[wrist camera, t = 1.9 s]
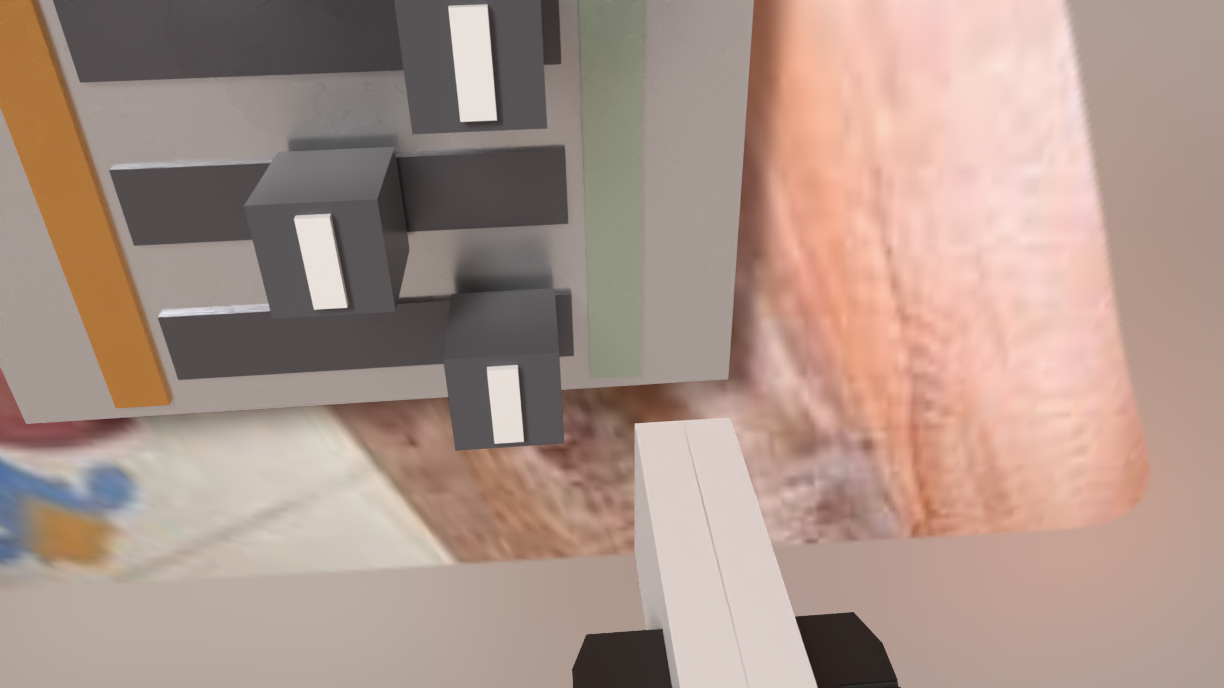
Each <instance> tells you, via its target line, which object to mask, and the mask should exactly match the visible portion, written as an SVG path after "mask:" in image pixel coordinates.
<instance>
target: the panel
mask: <svg viewBox="0 0 1224 688" xmlns="http://www.w3.org/2000/svg"><path fill="white" fill-rule="evenodd" d="M753 9H754V0H541V18H542V37H543V56H544V74H545V93H546V112H547V129H526V130H502V131H479V132H456V133H433V134H412V128H411V120H410V113H409V106H408V98H407V91H406V84H405V77H404V69H403V62H402V55H401V47H400V40H399V33H398V25H397V18H396V11H395V3H394V0H0V367H1V370H2V372H3V374H4V376H5V378H6V381H7V383H8V385H9V387H10V389H11V392H12V394H13V396H14V398H15V400H16V403H17V405H18V407H19V409H20V411H21V414H22V416H23V418H24V420H25V422H26V424H31V423H47V422H63V421H78V420H94V419H110V418H126V417H142V416H157V415H173V414H189V413H205V412H220V411H236V410H252V409H268V408H283V407H299V406H315V405H331V404H346V403H362V402H378V401H394V400H410V399H425V398H441V397H448V391H447V384H446V377H445V369H444V362H443V357H444V349H445V341H446V333H447V325H448V317H449V309H450V301H451V294H461V293H479V292H497V291H515V290H533V289H552V288H554V290H555V303H556V316H557V329H558V342H559V356H560V374H561V390H567V389H583V388H599V387H615V386H630V385H646V384H662V383H678V382H693V381H709V380H725V379H728V376H729V362H730V347H731V332H732V317H733V303H734V288H735V273H736V259H737V244H738V229H739V215H740V200H741V185H742V170H743V156H744V141H745V126H746V112H747V97H748V82H749V68H750V53H751V38H752V23H753ZM378 147H395V154H396V161H397V168H398V174H399V181H400V188H401V194H402V201H403V208H404V215H405V221H406V228H407V235H408V242H409V248H410V250H409V255H408V259H407V264H406V268H405V272H404V277H403V281H402V286H401V290H400V295H399V299H398V304H397V308H396V312H383V313H365V314H348V315H330V316H312V317H295V318H277V319H272V316H271V312H270V308H269V304H268V300H267V296H266V292H265V288H264V284H263V280H262V276H261V272H260V268H259V264H258V260H257V256H256V252H255V248H254V244H253V240H252V236H251V232H250V228H249V224H248V220H247V216H246V212H245V208H244V205H245V203H246V202H247V200H248V198H249V197H250V195H251V194H252V192H253V191H254V189H255V187H256V186H257V184H258V183H259V181H260V180H261V178H262V176H263V175H264V173H265V172H266V170H267V169H268V167H269V165H270V164H271V162H272V161H273V159H274V158H275V156H276V154H277V153H278V152H287V151H310V150H333V149H356V148H378Z"/></svg>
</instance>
